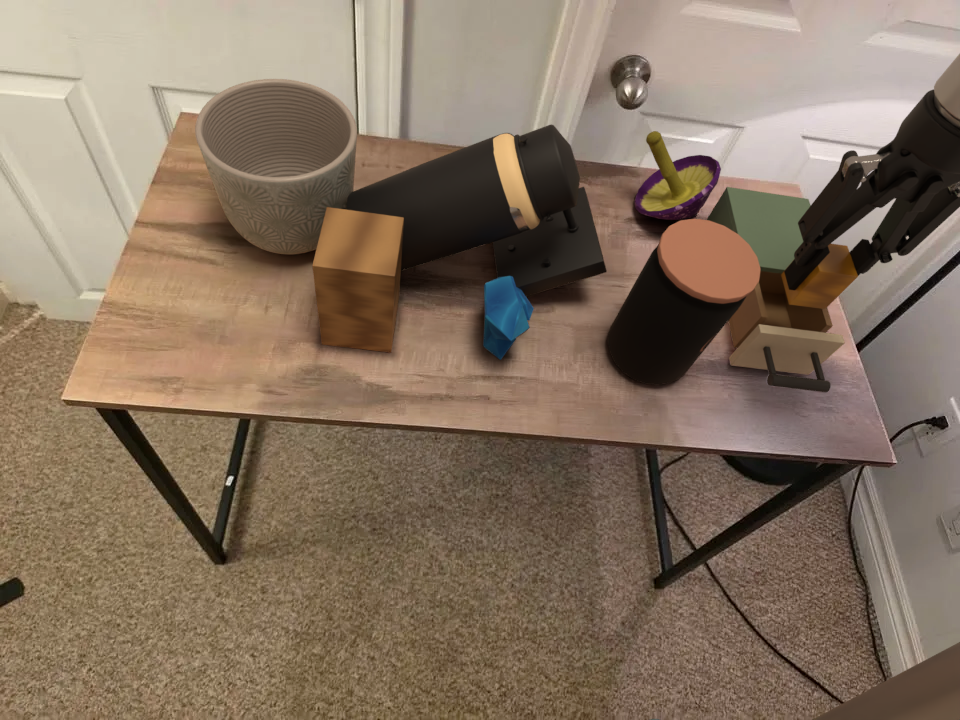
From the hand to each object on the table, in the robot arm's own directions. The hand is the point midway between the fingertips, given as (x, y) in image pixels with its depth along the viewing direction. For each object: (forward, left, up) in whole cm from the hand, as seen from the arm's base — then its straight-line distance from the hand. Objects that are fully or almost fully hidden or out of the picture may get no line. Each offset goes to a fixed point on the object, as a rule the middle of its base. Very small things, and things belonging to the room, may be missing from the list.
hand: (811, 283), depth 73 cm
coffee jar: (+8, +14, -12) cm, 20 cm away
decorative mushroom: (+28, -5, 0) cm, 29 cm away
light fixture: (+32, +23, -12) cm, 41 cm away
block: (0, 0, -2) cm, 2 cm away
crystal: (+22, +28, -12) cm, 37 cm away
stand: (+33, +39, -12) cm, 52 cm away
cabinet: (+8, -8, -12) cm, 16 cm away
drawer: (-1, +1, -11) cm, 11 cm away
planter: (+50, +37, -12) cm, 64 cm away
